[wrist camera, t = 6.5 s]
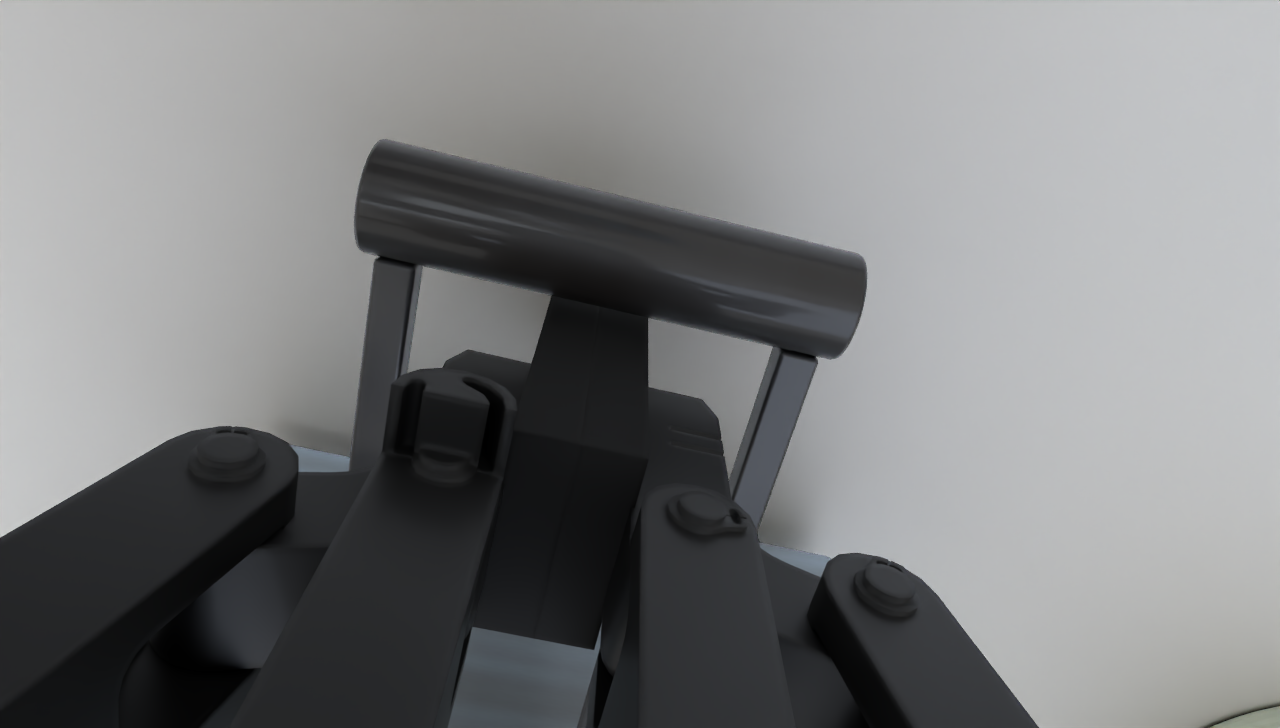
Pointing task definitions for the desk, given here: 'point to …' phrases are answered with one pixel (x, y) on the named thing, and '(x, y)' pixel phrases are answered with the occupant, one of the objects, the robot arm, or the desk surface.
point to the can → (1254, 720)
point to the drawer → (602, 276)
